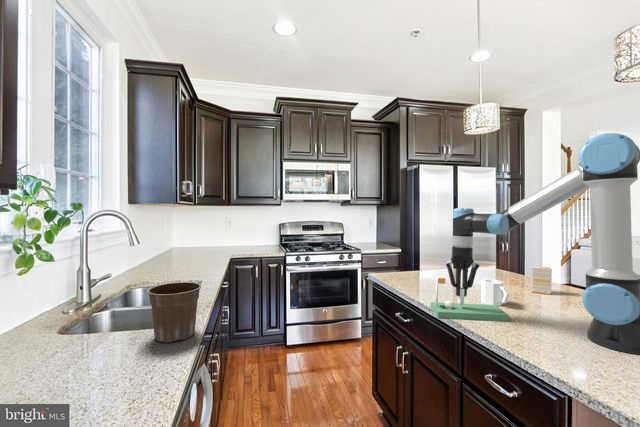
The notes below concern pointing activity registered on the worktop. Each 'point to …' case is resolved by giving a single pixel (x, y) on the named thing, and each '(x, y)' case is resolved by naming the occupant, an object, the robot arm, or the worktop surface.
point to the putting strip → (467, 310)
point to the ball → (449, 304)
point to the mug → (493, 292)
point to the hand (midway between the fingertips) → (461, 304)
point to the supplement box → (541, 279)
